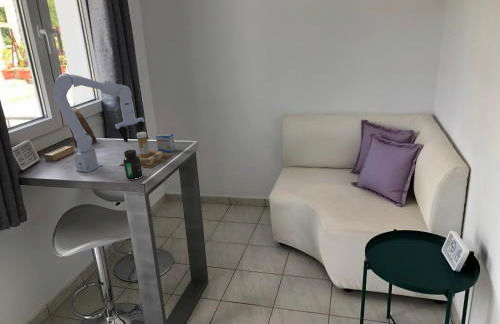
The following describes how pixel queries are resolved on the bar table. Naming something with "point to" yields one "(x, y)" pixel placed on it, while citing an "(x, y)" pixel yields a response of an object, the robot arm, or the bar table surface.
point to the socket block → (152, 159)
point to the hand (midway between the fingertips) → (133, 139)
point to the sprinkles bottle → (143, 144)
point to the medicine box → (165, 142)
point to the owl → (85, 127)
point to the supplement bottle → (132, 165)
